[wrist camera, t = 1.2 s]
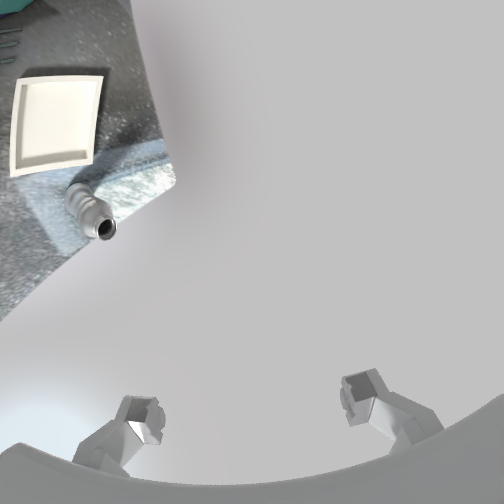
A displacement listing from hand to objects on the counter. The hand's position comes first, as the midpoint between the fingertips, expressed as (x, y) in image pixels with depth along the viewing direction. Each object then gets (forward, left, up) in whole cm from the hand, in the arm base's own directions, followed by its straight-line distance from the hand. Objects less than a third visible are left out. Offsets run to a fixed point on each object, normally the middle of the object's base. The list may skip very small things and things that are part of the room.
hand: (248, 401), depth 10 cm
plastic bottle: (+8, -7, -54) cm, 56 cm away
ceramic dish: (+2, +9, -54) cm, 55 cm away
